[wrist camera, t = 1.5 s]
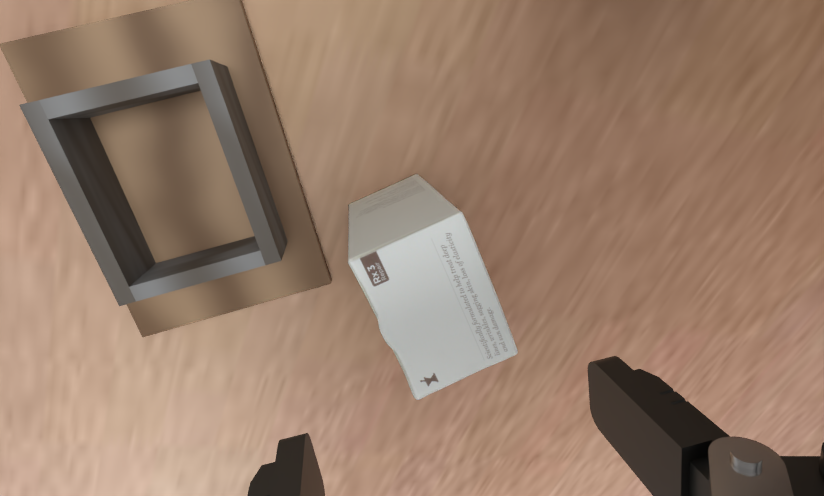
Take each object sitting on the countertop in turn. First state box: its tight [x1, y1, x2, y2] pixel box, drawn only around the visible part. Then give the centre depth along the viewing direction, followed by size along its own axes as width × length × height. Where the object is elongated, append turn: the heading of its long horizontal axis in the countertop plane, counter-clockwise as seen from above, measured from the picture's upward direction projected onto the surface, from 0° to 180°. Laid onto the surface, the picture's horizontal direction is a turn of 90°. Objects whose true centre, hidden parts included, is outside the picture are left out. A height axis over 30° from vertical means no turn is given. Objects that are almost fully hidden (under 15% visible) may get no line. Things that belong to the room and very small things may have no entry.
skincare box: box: [348, 174, 518, 400], centre depth 28 cm, size 8×6×15 cm
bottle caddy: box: [0, 0, 331, 337], centre depth 29 cm, size 14×20×6 cm
